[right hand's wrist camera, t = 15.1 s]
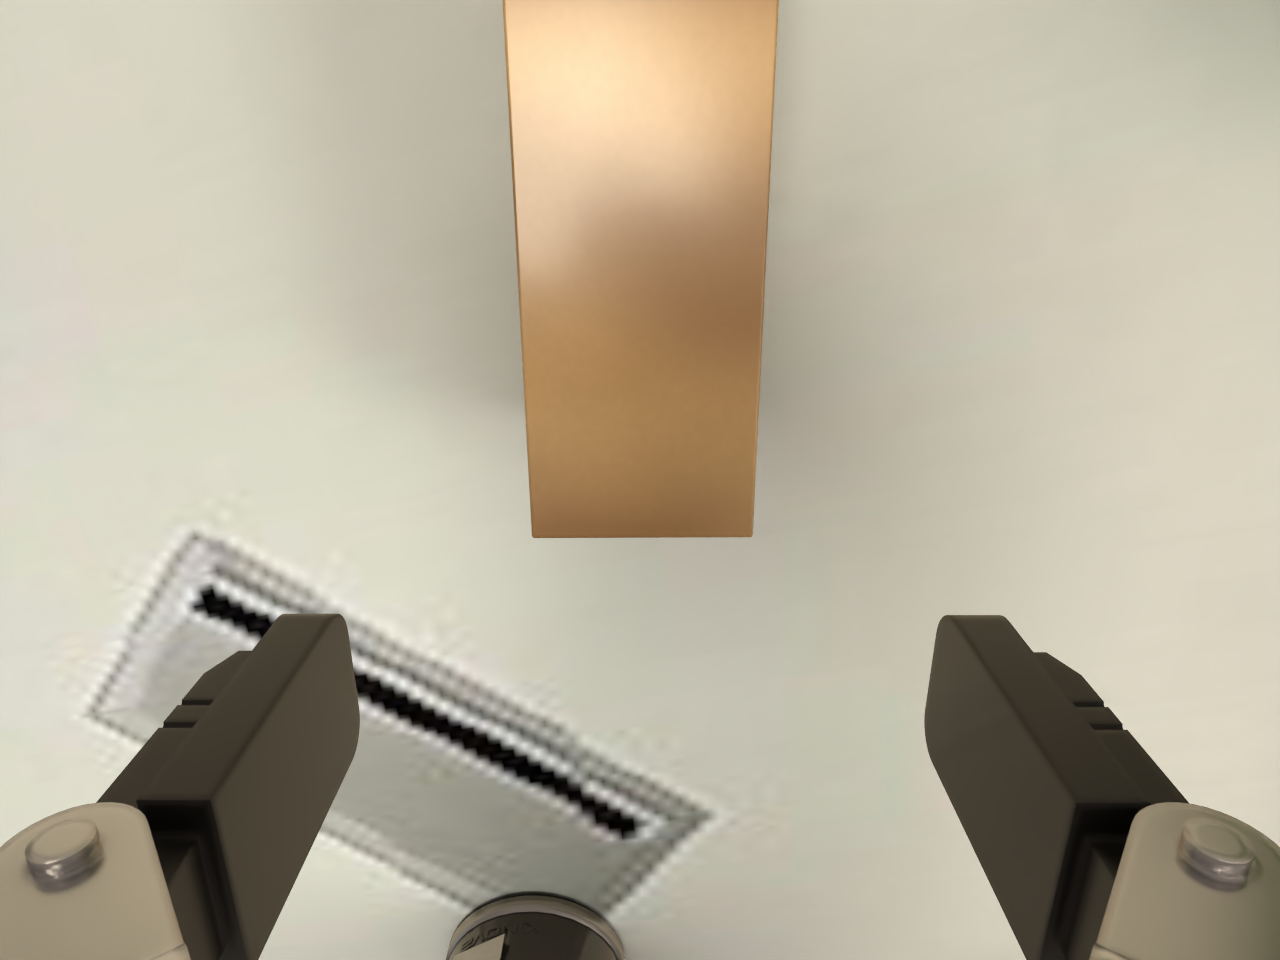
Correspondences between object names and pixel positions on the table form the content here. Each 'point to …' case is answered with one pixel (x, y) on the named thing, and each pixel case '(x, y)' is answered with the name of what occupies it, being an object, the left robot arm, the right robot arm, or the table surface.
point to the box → (641, 258)
